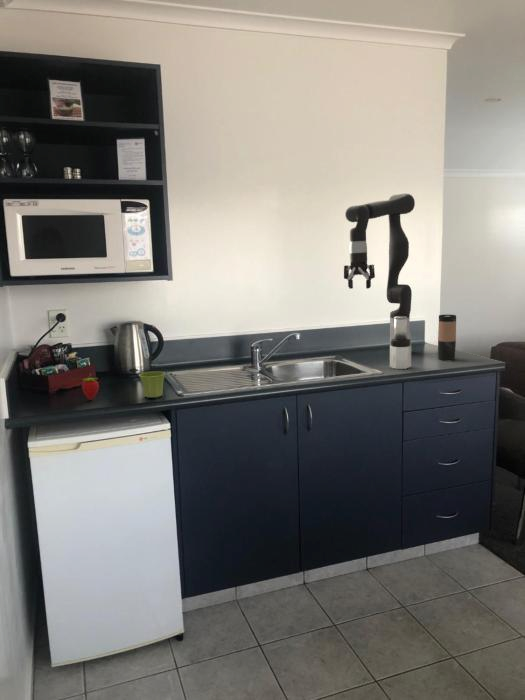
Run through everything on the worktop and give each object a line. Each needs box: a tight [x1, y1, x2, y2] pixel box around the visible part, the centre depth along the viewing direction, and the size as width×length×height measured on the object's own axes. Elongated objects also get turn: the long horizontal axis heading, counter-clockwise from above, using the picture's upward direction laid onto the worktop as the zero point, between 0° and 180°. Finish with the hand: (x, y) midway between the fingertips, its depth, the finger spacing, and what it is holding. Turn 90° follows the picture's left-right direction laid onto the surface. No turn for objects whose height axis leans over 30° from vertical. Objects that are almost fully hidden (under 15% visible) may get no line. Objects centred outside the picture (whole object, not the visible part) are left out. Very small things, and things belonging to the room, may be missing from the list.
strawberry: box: [81, 373, 100, 400], centre depth 201 cm, size 6×8×10 cm
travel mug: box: [437, 314, 457, 361], centre depth 254 cm, size 8×8×20 cm
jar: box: [389, 339, 412, 370], centre depth 241 cm, size 9×8×12 cm
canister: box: [394, 316, 407, 341], centre depth 239 cm, size 5×5×10 cm
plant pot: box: [138, 370, 166, 398], centre depth 203 cm, size 9×9×9 cm
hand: (359, 288), depth 251 cm, fingers open, 8 cm apart
